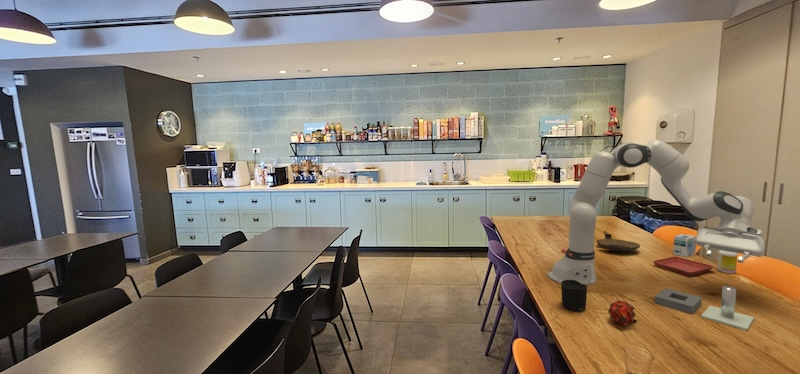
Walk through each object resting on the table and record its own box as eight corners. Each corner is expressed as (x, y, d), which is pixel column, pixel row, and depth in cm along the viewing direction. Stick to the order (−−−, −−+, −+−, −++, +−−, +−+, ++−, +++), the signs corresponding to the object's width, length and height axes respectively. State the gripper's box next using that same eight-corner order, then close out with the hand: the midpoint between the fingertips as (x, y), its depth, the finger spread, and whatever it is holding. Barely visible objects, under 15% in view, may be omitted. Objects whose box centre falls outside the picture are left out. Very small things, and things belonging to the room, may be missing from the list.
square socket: (692, 314, 127) (692, 306, 127) (654, 303, 137) (655, 296, 136) (701, 304, 134) (701, 297, 133) (664, 294, 144) (665, 287, 143)
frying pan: (595, 253, 198) (596, 241, 197) (596, 240, 224) (597, 229, 223) (641, 259, 187) (642, 245, 186) (637, 244, 212) (637, 232, 211)
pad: (747, 330, 115) (747, 328, 115) (701, 317, 124) (701, 315, 124) (753, 319, 122) (753, 317, 121) (710, 307, 131) (710, 305, 131)
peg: (728, 319, 121) (730, 290, 120) (717, 314, 125) (719, 286, 123) (736, 318, 121) (739, 289, 120) (726, 313, 125) (728, 285, 124)
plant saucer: (651, 266, 176) (651, 260, 175) (674, 261, 181) (675, 255, 181) (690, 278, 159) (690, 272, 158) (714, 272, 164) (715, 266, 164)
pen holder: (562, 311, 134) (562, 287, 132) (560, 300, 142) (560, 278, 141) (588, 314, 130) (589, 290, 129) (584, 303, 139) (585, 280, 138)
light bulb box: (686, 257, 185) (688, 239, 184) (672, 254, 191) (673, 236, 190) (695, 254, 190) (697, 235, 189) (681, 251, 196) (682, 233, 195)
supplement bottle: (739, 274, 161) (741, 248, 159) (723, 273, 162) (725, 248, 161) (729, 269, 167) (730, 244, 166) (713, 268, 169) (715, 244, 167)
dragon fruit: (623, 318, 129) (624, 338, 119) (602, 303, 131) (602, 321, 122) (639, 305, 125) (642, 325, 115) (618, 290, 127) (619, 308, 117)
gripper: (698, 221, 144) (689, 247, 139) (768, 231, 127) (760, 261, 123) (700, 230, 147) (691, 255, 142) (768, 240, 130) (760, 270, 126)
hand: (723, 258), depth 133 cm, fingers open, 8 cm apart
